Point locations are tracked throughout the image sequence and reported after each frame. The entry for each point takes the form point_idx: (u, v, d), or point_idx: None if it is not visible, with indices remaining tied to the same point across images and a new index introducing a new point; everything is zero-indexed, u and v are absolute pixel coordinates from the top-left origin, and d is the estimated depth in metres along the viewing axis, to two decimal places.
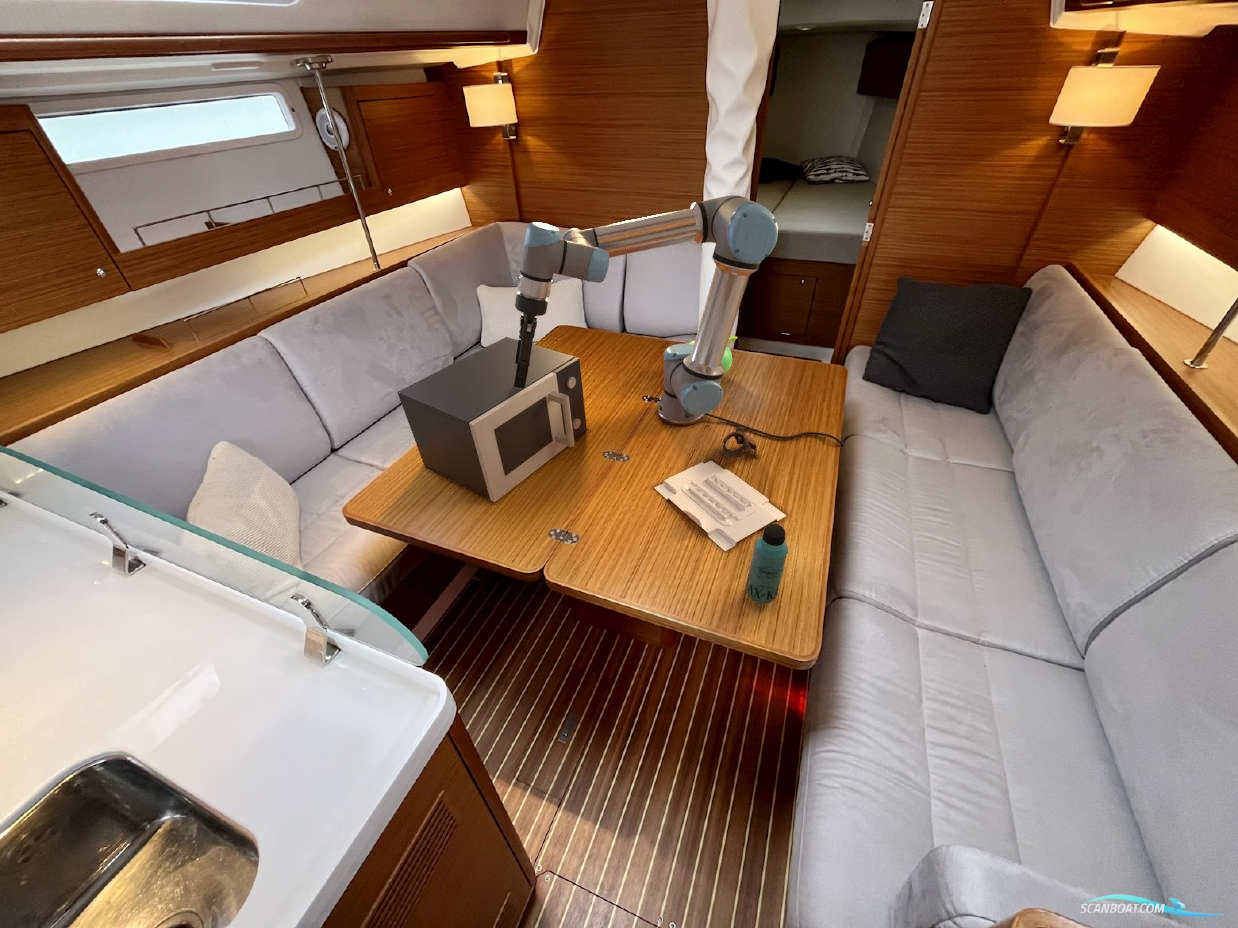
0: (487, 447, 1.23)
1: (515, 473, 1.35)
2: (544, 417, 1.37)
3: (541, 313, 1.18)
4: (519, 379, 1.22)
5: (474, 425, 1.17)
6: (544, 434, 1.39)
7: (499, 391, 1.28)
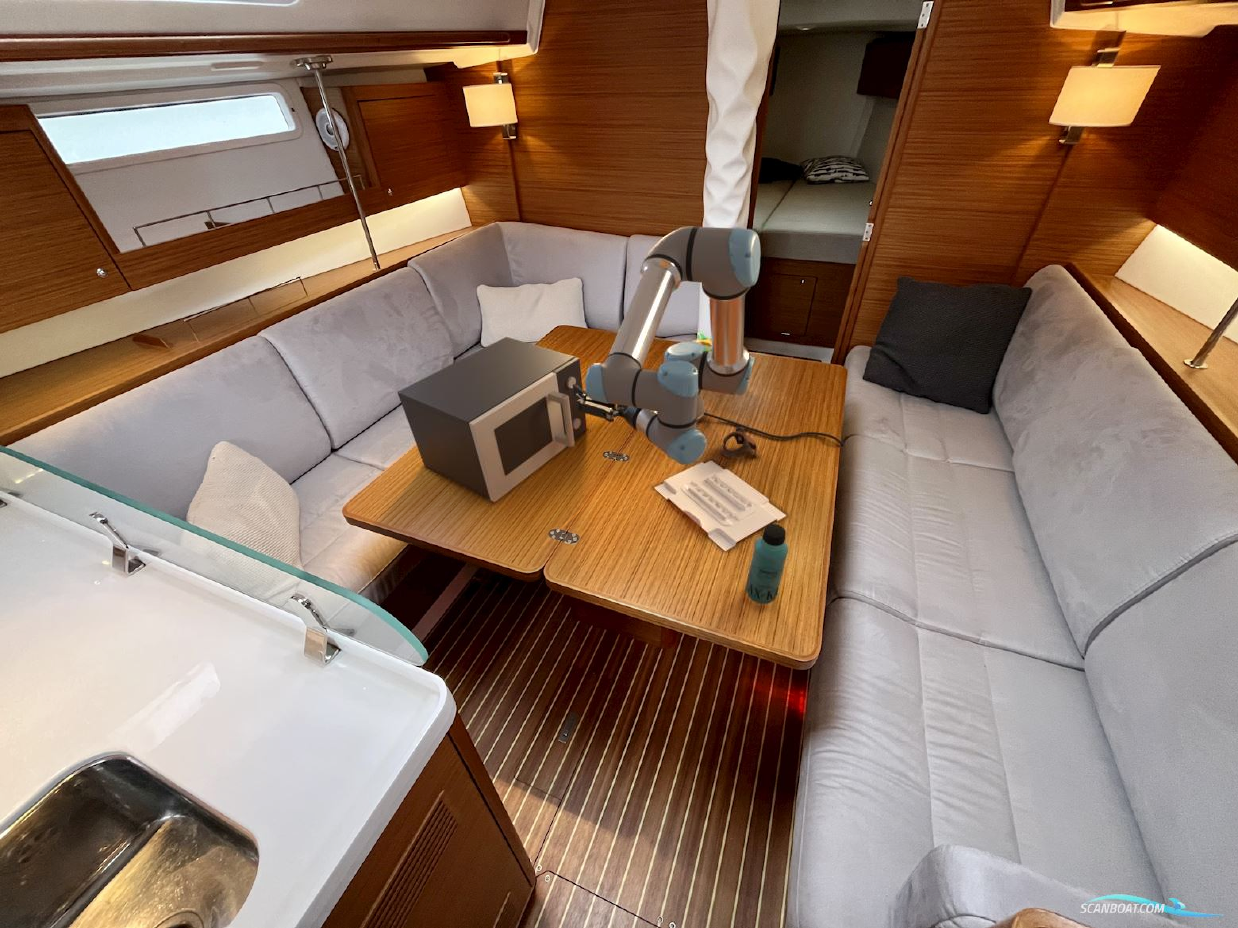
0: (487, 447, 1.23)
1: (515, 473, 1.35)
2: (544, 417, 1.37)
3: None
4: None
5: (474, 425, 1.17)
6: (544, 434, 1.39)
7: (499, 391, 1.28)
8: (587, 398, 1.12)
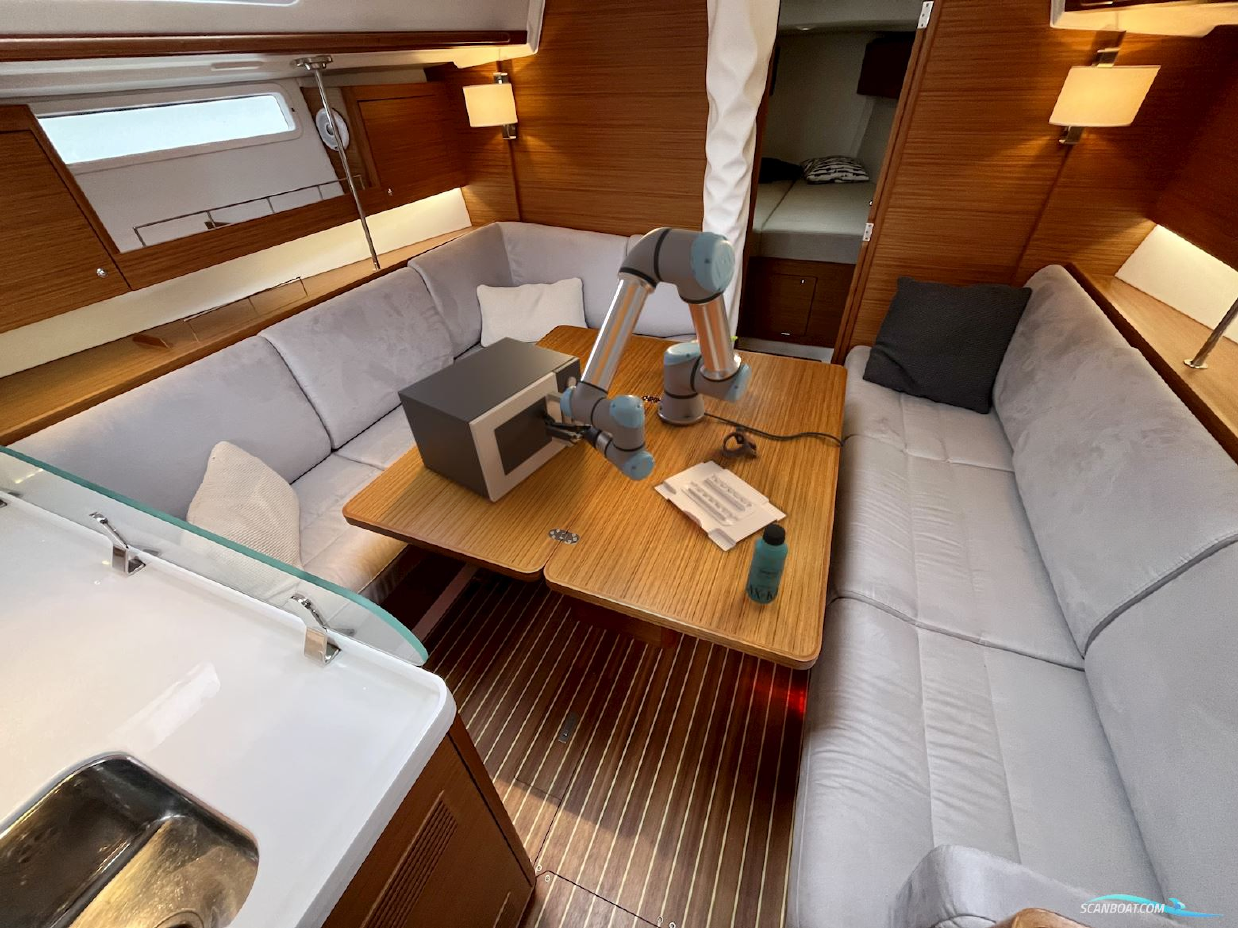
0: (487, 447, 1.23)
1: (515, 473, 1.35)
2: None
3: None
4: None
5: (474, 425, 1.17)
6: (544, 434, 1.39)
7: (499, 391, 1.28)
8: (553, 423, 1.29)
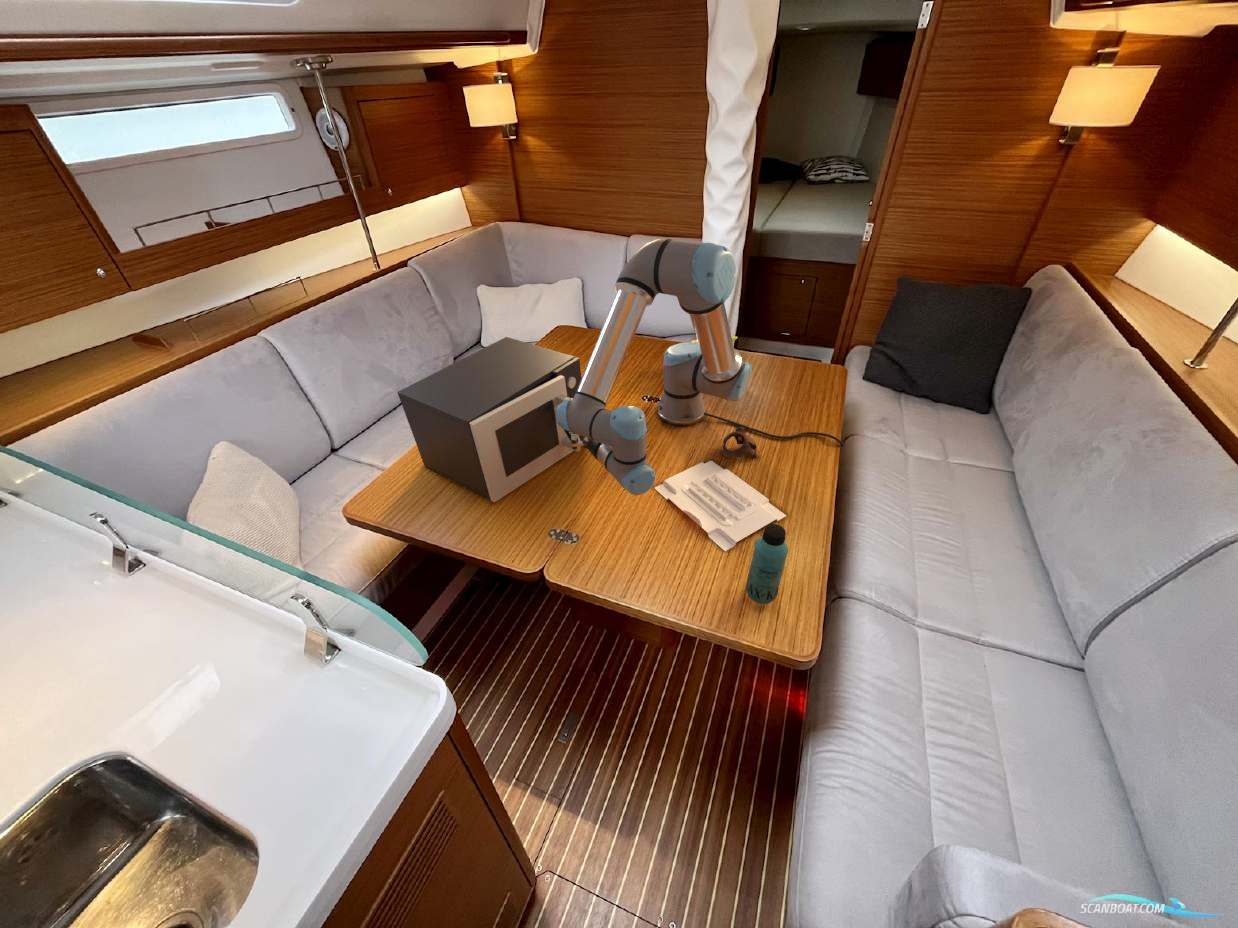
0: (487, 448, 1.23)
1: (517, 475, 1.34)
2: (550, 420, 1.35)
3: None
4: None
5: (474, 426, 1.17)
6: (550, 437, 1.38)
7: (499, 391, 1.28)
8: None
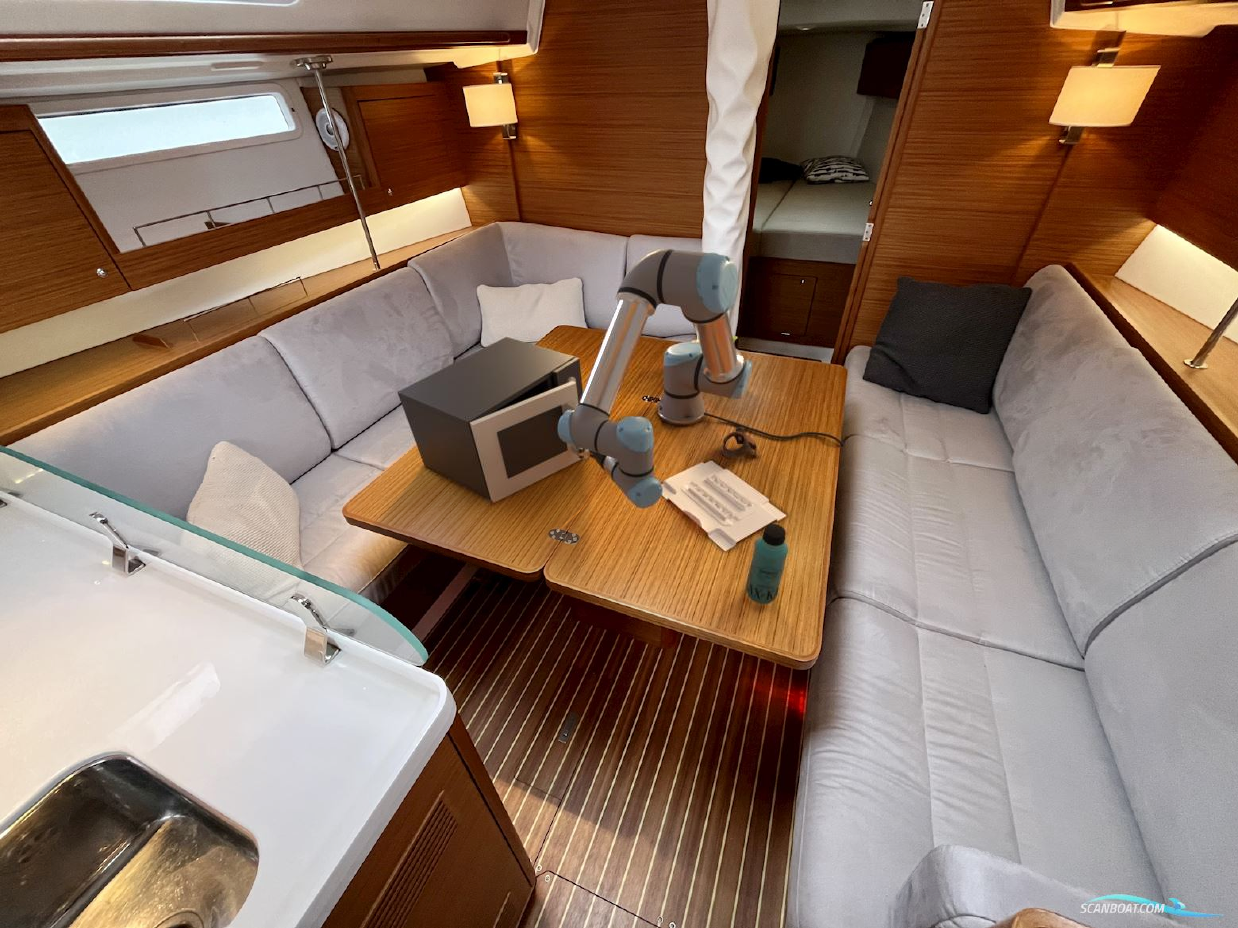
0: (488, 448, 1.22)
1: (520, 477, 1.33)
2: None
3: None
4: None
5: (473, 426, 1.17)
6: (557, 442, 1.36)
7: (499, 391, 1.28)
8: None
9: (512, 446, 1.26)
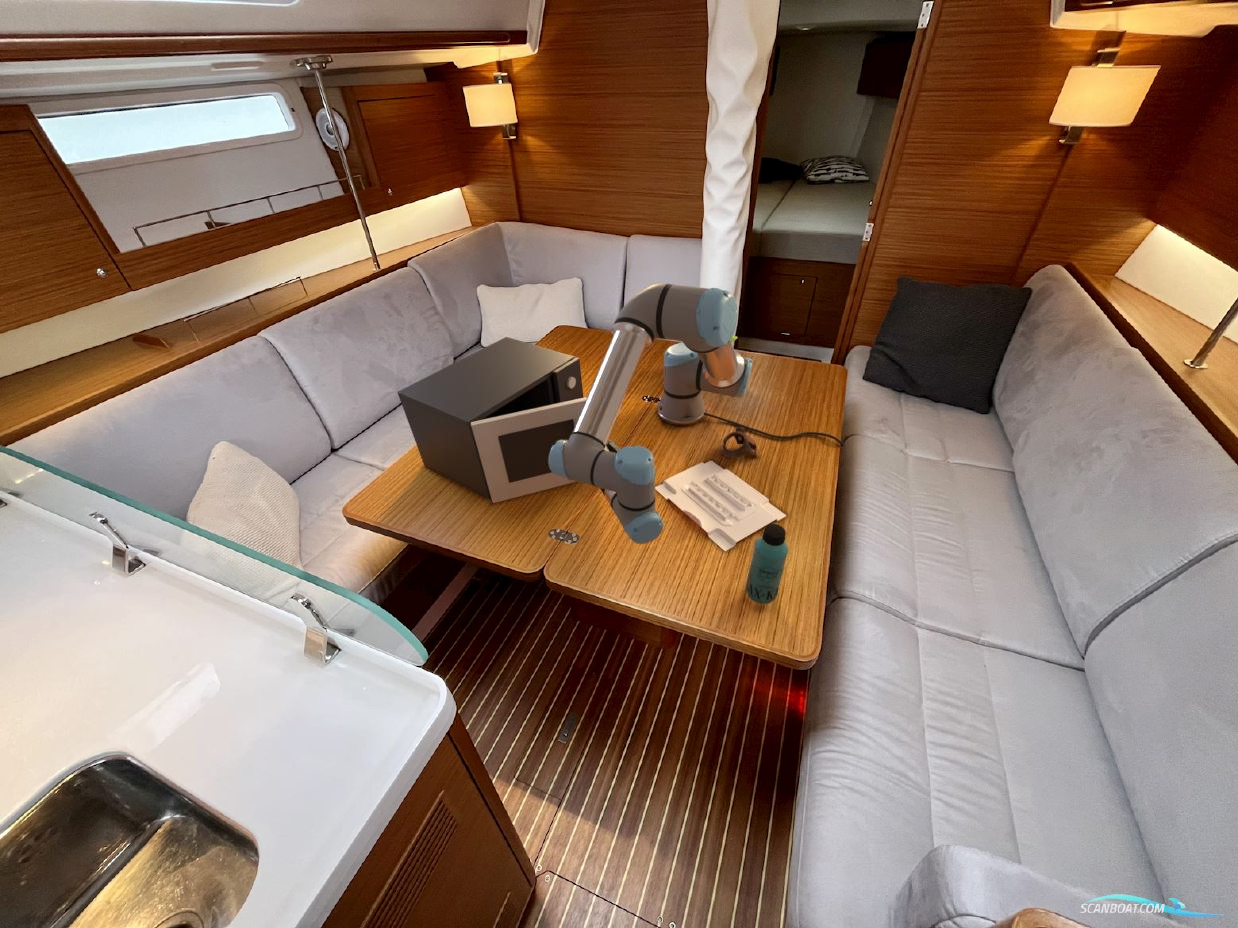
0: (488, 450, 1.22)
1: (523, 483, 1.31)
2: None
3: None
4: None
5: (472, 426, 1.17)
6: None
7: (499, 391, 1.28)
8: None
9: (514, 452, 1.24)
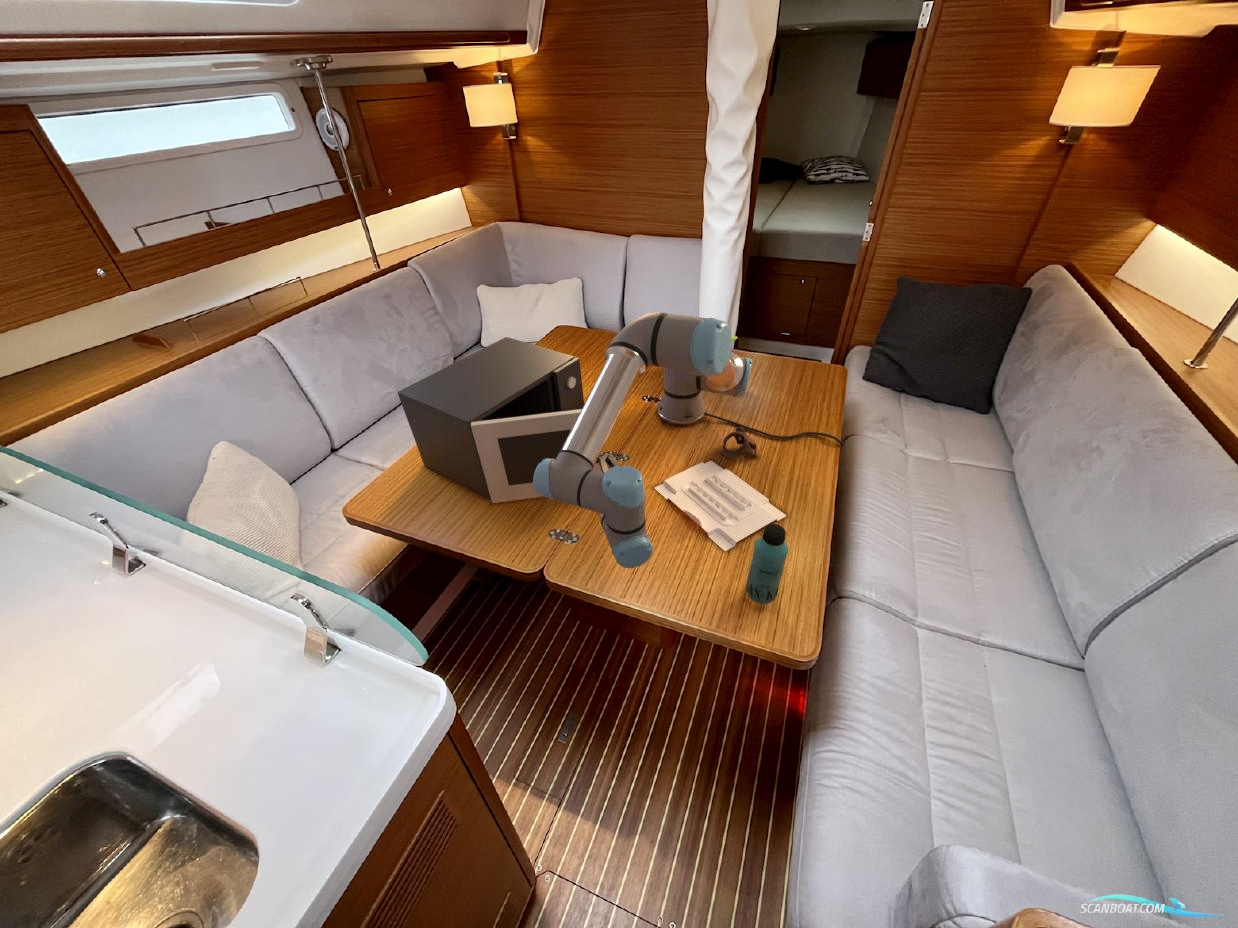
0: (487, 451, 1.21)
1: (523, 488, 1.30)
2: None
3: None
4: None
5: (471, 427, 1.17)
6: None
7: (499, 391, 1.28)
8: None
9: (514, 456, 1.23)
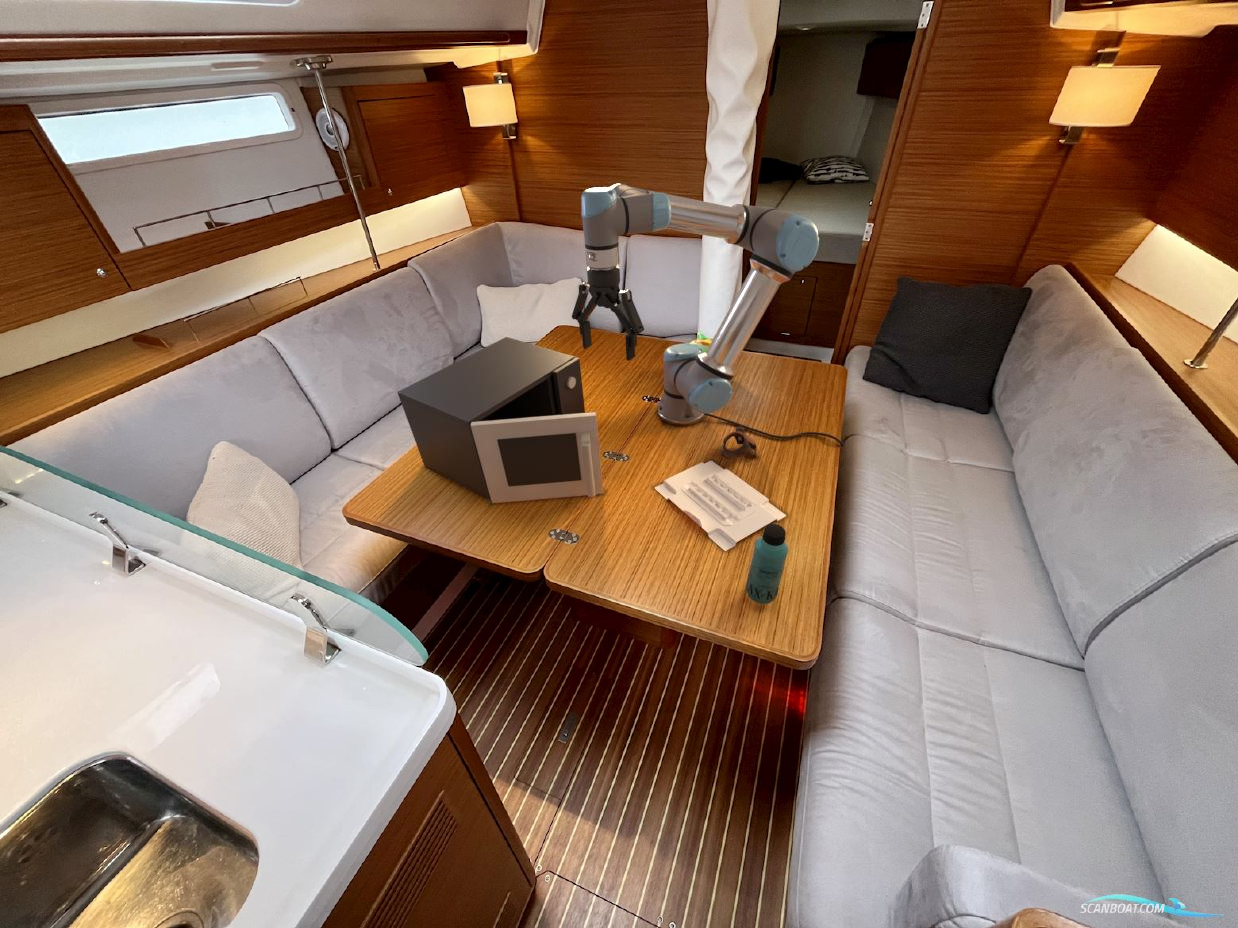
0: (487, 452, 1.21)
1: (522, 489, 1.29)
2: (571, 453, 1.23)
3: None
4: (631, 351, 1.21)
5: (471, 427, 1.16)
6: (569, 469, 1.26)
7: (499, 391, 1.28)
8: None
9: (514, 457, 1.23)
